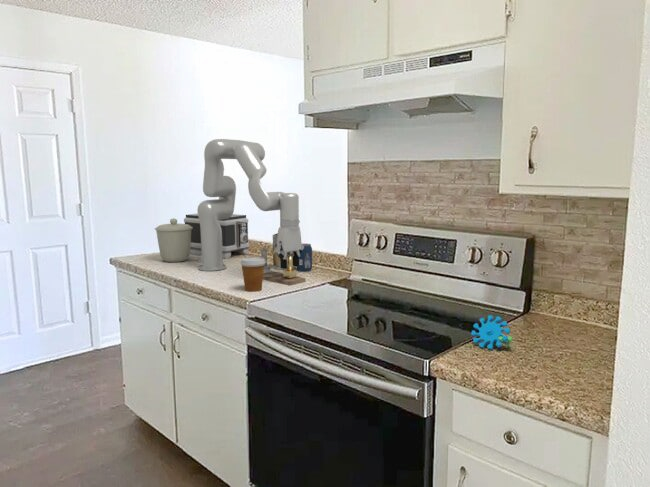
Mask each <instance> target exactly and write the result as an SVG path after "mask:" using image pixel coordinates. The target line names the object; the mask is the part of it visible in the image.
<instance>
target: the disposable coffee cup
mask: <svg viewBox="0 0 650 487" xmlns="http://www.w3.org/2000/svg"><path fill="white" fill-rule="evenodd" d="M239 264H240V265H241V268H242V277H243V283H244V284H243V285H244V289H245V291H246V292H252V293H253V292H260V291H262V290H263V280H264V279H263V272H264V265H265V260H264V258H261V256H260V257H259V256H248V257H243V258H241V260H240V262H239Z"/></svg>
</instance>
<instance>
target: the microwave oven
mask: <svg viewBox="0 0 650 487" xmlns="http://www.w3.org/2000/svg"><path fill="white" fill-rule="evenodd" d="M183 222H184V224H188V225H190V226H191V227H193V229H192V230H191V245H190V255H193V256H200V257H202V256H201V231H200V221H199V217H198V213H190V214H185V217H184V218H183ZM218 222H219V224H220V226H221V229H222V252H223V260H227V259H230V258H231V256H232V254H239V255H248V254H249V248H250V243H249V228H248V227H249V226H248V225H249V224H248V223H249V218H247V215H246V214H237V213H236V214H234V213H233V215H232V216H231V217H230V218H228V219H223V220H218Z"/></svg>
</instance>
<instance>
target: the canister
mask: <svg viewBox="0 0 650 487" xmlns="http://www.w3.org/2000/svg"><path fill="white" fill-rule="evenodd" d="M169 222H170V223H165V224H160V225H157V227H155V228H154V230H155V231H156V238H157V244H158V248H159V249H158V250H159V254H160V257H161V260H162V261H164V262H167V263H180V262H181V263H182V262H184V261H187V260H188V259H189V257H190V255H191V254H190V245H191V230H192V229H193V227H191V226H190V225H188V224H185V223H178V219H176V218H175V217H174V218H173V217H172V218H171V219H169Z"/></svg>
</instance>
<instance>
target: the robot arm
mask: <svg viewBox="0 0 650 487" xmlns="http://www.w3.org/2000/svg"><path fill="white" fill-rule="evenodd" d="M203 157H204V171H203V180H202V182H203V183H202V192H203V194H204V196H206V197H207V198H208V197H209V198H214V199H206V200H203V201H200V202H199V204H198V206H197V214H198V217H199V221H200V231H201V256H200V258H199V259H198V262H199V263H200V265H198V270H199V271H202V272H203V271H205V272H210V271H211V272H214V271H223V270H225V269H226V268H227V265H226V264H224V259H223V252H222V229H221V226H220V224H219V222H218V220H223V219H228V218H230V217H231V216H232V215H233V214H234V210H235V203H236V194H237V187H236V186H237V185H236V182H235V180H234V179H233V178H232V177H231V176H229V175H224V173H225V167H224V166H225V165H224V163H223V161H222V160H236V161H237V163H239V166H240V167H241V169H242V170H243V172H244V174H245V175H246V176H247V178H248V181H247V185H248V186H247V187H248V193H249V196H250V198H251V200H252V201H253V203H254V204H255V205H256V207H257V208H258V209H259V210H260V211H261V212H270V211H271V212H272V211H279V222H280V224H279V225H280V226H279V227H278V230H277V233H278V235H277V248H276V249H275V253H276V254H277V255H278V257H279V258H280V261H281V268H282V269H287V259H286V256H287V252H292V251H293V254H294V256H293V266H296V268H297V267H298V266H299V257H300V254H301V252H302V250H303V249H304V246H303V245H302V244H303V243H302V232H301V228H300V223H301V220H300V219H299V218H300V214H299V213H300V208H299V207H300V202H299V198H300V197H299V194H297V193H296V192H283V191H269V192H267V191H266V190H265V189H264V187H263V185H262V183H261V179H262V178H263V177H264V176H266V174H267V170H268V169H267V167H266V166H265V164H264V163H263V162H262V161H263V160H264V159H265V157H266V151H265V148H264V147H263V145H262V144H260V143H259V142H253V141H247V140H240V139H229V138H215V139H212V140H210V141H208V142H207V144H206V145H205V147H204V152H203ZM215 198H217V199H215ZM280 251H281V252H280ZM283 253H284V255H283ZM282 269H281V270H282Z"/></svg>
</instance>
